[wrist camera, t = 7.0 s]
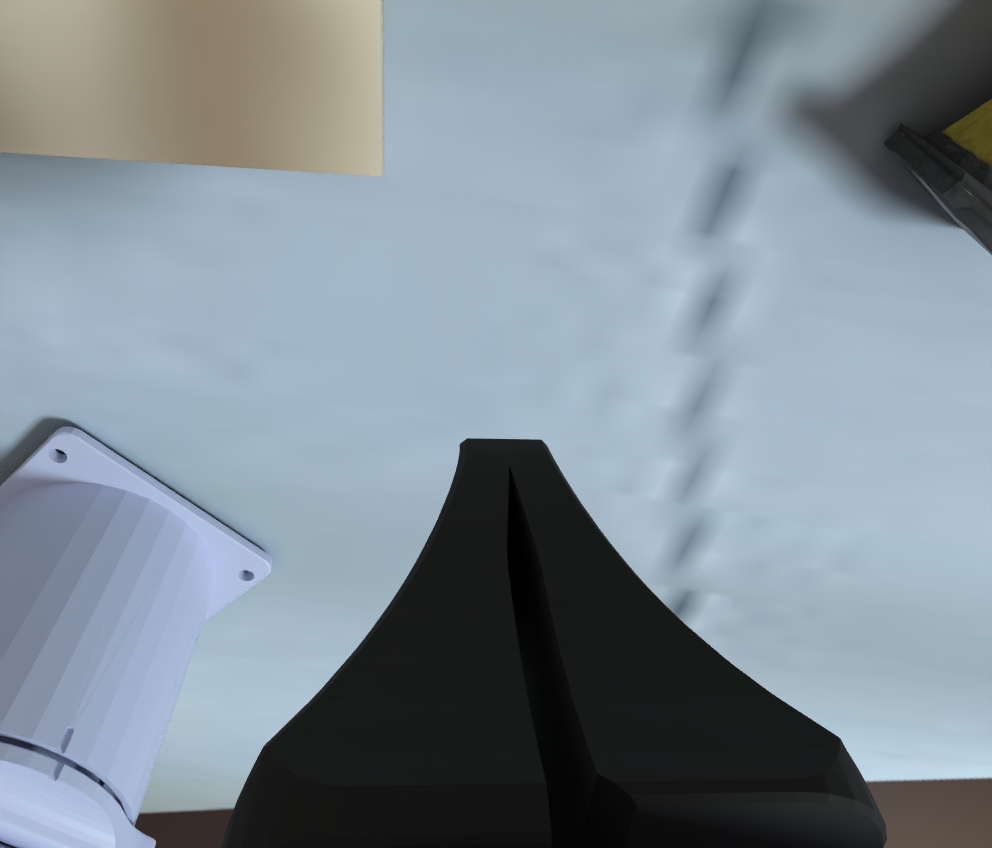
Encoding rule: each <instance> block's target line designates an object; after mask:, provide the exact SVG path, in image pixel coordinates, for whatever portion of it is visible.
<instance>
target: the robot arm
mask: <svg viewBox="0 0 992 848" xmlns="http://www.w3.org/2000/svg"><path fill="white" fill-rule="evenodd" d="M55 449H59V450H61V451H63V452H64V453H65V454H66V455H63V454H60V453H58V452H57V451H56V450H55ZM272 564H273V561H272V558H271V557H270V556H269V555H268V554H267V553H265V552H264V551H262V550H261V549H259V548H258V547H256V546H255V545H253V544H252V543H250V542H249V541H247V540H246V539H244V538H243V537H241V536H240V535H238V534H237V533H235V532H234V531H232V530H231V529H229V528H228V527H226V526H225V525H223V524H222V523H220V522H219V521H217V520H216V519H214V518H213V517H211V516H210V515H208V514H207V513H205V512H204V511H202V510H200V509H199V508H197V507H196V506H194V505H193V504H191V503H190V502H188V501H187V500H185V499H184V498H182V497H181V496H179V495H178V494H176V493H175V492H173V491H172V490H170V489H169V488H167V487H166V486H164V485H163V484H161V483H160V482H158V481H157V480H155V479H154V478H152V477H151V476H149V475H148V474H146V473H145V472H143V471H142V470H140V469H139V468H137V467H136V466H134V465H133V464H131V463H130V462H128V461H127V460H125V459H124V458H122V457H121V456H119V455H117V454H116V453H114V452H113V451H111V450H110V449H108V448H107V447H105V446H104V445H102V444H101V443H99V442H98V441H96V440H95V439H93V438H92V437H90V436H89V435H87V434H86V433H84V432H83V431H81V430H79V429H77V428H75V427H69V426H67V427H61V428H59V429H58V430H56V431H55V432H54V433H53V434H52V435H51V436H50V437H49V438H48V439H47V440H46V441H45V442H44V443H43V444H42V445H41V446H40V447H39V448H38V449H37V450H36V451H35V452H34V453H33V454H32V455H31V456H30V457H29V458H28V459H27V460H26V461H25V462H24V463H23V464H22V465H21V466H20V467H19V468H18V469H17V470H16V471H15V472H13V473H12V474H11V475H10V476H9V477H8V478H7V479H6V480H5V481H4V482H3V483H2V484H1V485H0V848H154V847H155V844H156V841H155V840H154V839H152V838H151V837H149V836H146V835H145V834H143V833H141V832H140V831H139V830H137V829H135V827H134V826H135V822H136V819H137V817H138V814H139V811H140V808H141V805H142V802H143V799H144V796H145V793H146V790H147V787H148V784H149V781H150V778H151V775H152V772H153V769H154V766H155V763H156V761H157V758H158V755H159V752H160V749H161V746H162V743H163V740H164V737H165V734H166V731H167V728H168V725H169V722H170V719H171V716H172V713H173V710H174V707H175V704H176V701H177V698H178V695H179V692H180V690H181V687H182V684H183V681H184V678H185V675H186V672H187V669H188V666H189V663H190V660H191V657H192V654H193V651H194V648H195V645H196V642H197V639H198V636H199V633H200V630H201V627H202V624H203V622H205V621H206V620H208V619H209V618H210V617H212V616H213V615H214V614H216V613H217V612H218V611H220V610H221V609H222V608H224V607H225V606H226V605H228V604H229V603H231V602H232V601H233V600H235V599H236V598H237V597H239V596H240V595H241V594H243V593H244V592H245V591H247V590H248V589H250V588H251V587H252V586H254V585H255V584H256V583H258V582H259V581H260V580H262V579H263V578H264V577H266V576H267V575H268V574H269V573H270V572H271V568H272ZM243 570H248V571H250V572H252V573H250V572H245V571H243ZM886 840H887V835H886V824H885V822H884V820H883V818H882V816H881V814H880V811H879V809H878V807H877V805H876V803H875V801H874V798H873V797H872V794H871V792H870V790H869V788H868V787H867V784H866V782H865V780H864V779H863V777H862V775H861V773H860V771H859V769H858V768H857V766H856V765H855V763H854V761H853V760H852V758H851V756H850V755H849V753H848V752H847V750H846V748H845V746H844V744H843V743H842V741H841V739H840V738H839V737H838V736H836V735H834V734H833V733H831V732H830V731H828V730H827V729H825V728H824V727H822V726H821V725H819V724H818V723H816V722H814V721H813V720H811V719H810V718H808V717H807V716H805V715H804V714H802V713H801V712H799V711H797V710H796V709H794V708H793V707H791V706H790V705H788V704H787V703H785V702H784V701H782V700H781V699H779V698H777V697H776V696H775V695H773V694H772V693H770V692H769V691H767V690H766V689H765V688H763V687H762V686H761V685H759V684H758V683H757V682H755V681H754V680H753V679H751V678H750V677H749V676H747V675H746V674H745V673H743V672H742V671H741V670H739V669H738V668H736V667H735V666H734V665H733V664H731V663H730V662H729V661H728V660H726V659H725V658H724V657H723V656H721V655H720V654H719V653H718V652H717V651H716V650H714V649H713V648H712V647H711V646H710V645H709V644H707V643H706V642H705V641H704V640H703V639H702V638H700V637H699V636H698V635H697V634H696V633H695V632H693V631H692V630H691V629H690V628H689V627H688V626H686V625H685V624H684V623H683V622H682V621H681V620H680V619H679V618H678V617H677V616H676V615H675V614H674V613H673V612H672V611H671V610H670V609H669V608H668V607H666V606H665V605H664V604H663V603H662V601H661V600H660V599H659V598H658V597H657V596H656V595H655V594H654V593H653V592H652V591H651V590H650V589H649V588H648V587H647V586H646V585H645V584H644V583H643V581H642V580H641V579H640V578H639V577H638V576H637V575H636V574H635V572H634V571H633V570H632V569H631V568H630V567H629V566H628V564H627V563H626V562H625V561H624V560H623V558H622V557H621V556H620V555H619V553H618V552H617V551H616V550H615V548H614V547H613V546H612V545H611V544H610V542H609V541H608V540H607V538H606V537H605V536H604V534H603V533H602V532H601V530H600V529H599V528H598V526H597V525H596V524H595V522H594V521H593V519H592V518H591V516H590V515H589V514H588V512H587V511H586V509H585V508H584V507H583V505H582V504H581V502H580V501H579V499H578V498H577V496H576V495H575V493H574V492H573V490H572V488H571V487H570V485H569V484H568V482H567V480H566V479H565V477H564V476H563V474H562V472H561V471H560V469H559V467H558V465H557V464H556V462H555V460H554V458H553V456H552V455H551V453H550V451H549V449H548V447H547V445H546V444H545V443H544V442H543V441H542V440H528V439H469V438H467V439H466V440H465V441H463V442H462V443H461V444H460V454H459V459H458V464H457V468H456V472H455V476H454V479H453V482H452V485H451V488H450V491H449V493H448V496H447V498H446V500H445V503H444V505H443V508H442V510H441V513H440V515H439V517H438V520H437V522H436V524H435V526H434V528H433V530H432V532H431V534H430V536H429V538H428V540H427V542H426V544H425V546H424V548H423V550H422V552H421V554H420V556H419V557H418V559H417V561H416V563H415V565H414V566H413V568H412V570H411V571H410V573H409V575H408V576H407V578H406V580H405V581H404V583H403V585H402V586H401V588H400V589H399V591H398V592H397V594H396V595H395V597H394V598H393V600H392V601H391V603H390V604H389V606H388V607H387V609H386V610H385V611H384V613H383V614H382V616H381V617H380V618H379V620H378V621H377V622H376V624H375V625H374V627H373V628H372V629H371V631H370V632H369V633H368V635H367V636H366V637H365V639H364V640H363V641H362V642H361V644H360V645H359V646H358V647H357V649H356V650H355V651H354V652H353V653H352V655H351V656H350V657H349V658H348V659H347V660H346V661H345V663H344V664H343V665H342V666H341V667H340V668H339V669H338V671H337V672H336V673H335V674H334V675H333V676H332V677H331V679H330V680H329V681H328V682H327V683H326V684H325V686H324V687H323V688H322V689H321V690H320V691H319V692H318V693H317V694H316V695H315V696H314V697H313V698H312V700H311V701H310V702H309V703H308V704H306V705H305V706H304V707H303V708H302V709H301V710H300V711H299V712H298V713H297V714H296V715H295V716H294V717H293V718H292V719H291V720H290V721H289V722H288V723H287V724H286V725H285V726H284V727H283V728H282V729H281V730H280V731H279V732H278V733H277V734H276V735H275V736H274V737H273V738H272V739H271V740H270V741H268V742H267V743H266V744H265V745H264V747H263V749H262V751H261V752H260V754H259V756H258V758H257V760H256V762H255V764H254V766H253V768H252V770H251V772H250V774H249V776H248V778H247V780H246V782H245V785H244V787H243V789H242V791H241V793H240V796H239V798H238V800H237V803H236V805H235V808H234V810H233V813H232V815H231V818H230V821H229V824H228V827H227V830H226V832H225V835H224V838H223V842H222V846H221V848H883V847H884V845H885V843H886Z"/></svg>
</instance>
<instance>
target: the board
mask: <svg viewBox="0 0 992 848" xmlns="http://www.w3.org/2000/svg"><path fill="white" fill-rule="evenodd" d="M0 152H1V153H17V154H33V155H49V156H65V157H81V158H97V159H113V160H129V161H144V162H160V163H176V164H192V165H208V166H224V167H240V168H256V169H272V170H287V171H303V172H319V173H335V174H351V175H367V176H382V174H383V169H384V151H383V6H382V0H0Z"/></svg>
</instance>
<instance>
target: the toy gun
mask: <svg viewBox="0 0 992 848" xmlns="http://www.w3.org/2000/svg"><path fill="white" fill-rule="evenodd" d="M884 145H885V146H886V147H887V148H888V149H889V150H890V152H891V153H892V154H893V155H894V156H895V157H896V158H897V160H898V161H899V162H900V163H901V164H902V165H903V166H904V167H905V168H906V169H907V170H908V172H909V173H910V174H911V175H912V176H913V177H914V178H915V179H916V180H917V181H918V182H919V184H920V185H921V186H922V187H923V188H924V189H925V190H926V191H927V192H928V193H929V194H930V196H931V197H932V198H933V199H934V200H935V201H936V202H937V203H938V204H939V205H940V206H941V207H942V208H943V209H944V210H945V211H946V212H947V213H948V214H949V215H950V216H951V217H952V218H953V219H954V220H955V221H956V222H957V224H958V225H959V226H960V227H961V228H962V229H963V230H965V231H966V232H967V233H968V234H969V235H970V236H971V237H972V238H973V239H975V240H976V241H977V242H978V243H979V244H980V245H981V246H982V247H983V248H985V249H986V250H987V251H988V252H989V253H990V254H991V255H992V99H990V100H989V101H987V102H986V103H984V104H983V105H981V106H980V107H978V108H977V109H975V110H974V111H972V112H971V113H969V114H968V115H966V116H965V117H963V118H962V119H960V120H959V121H957V122H956V123H954V124H953V125H951V126H950V127H948V128H947V129H945V130H944V131H942V132H936V133H933V134H931V135H929V136H928V137H926V138H922V137H921V136H919V135H918V134H917V133H915V132H914V131H912V130H911V129H910V128H908V127H907V126H905V125H904V124H903V123H901V124H900V127H899V129H898V131H896V132H895V133H894V134H893V135H892V136H891V137H890V138H889V139H888V140H887V141H886V142H885V143H884Z"/></svg>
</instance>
